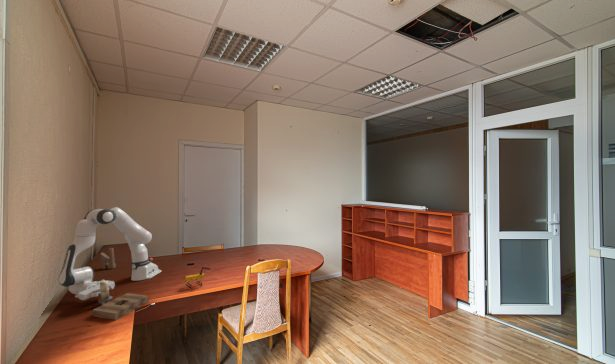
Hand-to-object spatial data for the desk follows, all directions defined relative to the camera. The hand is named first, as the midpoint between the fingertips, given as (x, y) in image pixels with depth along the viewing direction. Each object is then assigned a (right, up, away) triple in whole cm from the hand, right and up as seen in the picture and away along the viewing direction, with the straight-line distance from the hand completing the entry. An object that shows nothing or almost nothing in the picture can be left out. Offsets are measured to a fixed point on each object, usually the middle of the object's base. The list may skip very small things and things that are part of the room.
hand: (105, 291), depth 178 cm
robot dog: (+51, -5, +23) cm, 56 cm away
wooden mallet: (-48, -7, +69) cm, 84 cm away
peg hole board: (+15, -8, -6) cm, 18 cm away
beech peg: (0, -9, +1) cm, 9 cm away
